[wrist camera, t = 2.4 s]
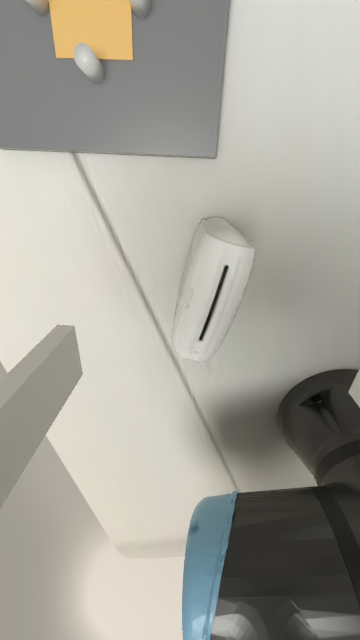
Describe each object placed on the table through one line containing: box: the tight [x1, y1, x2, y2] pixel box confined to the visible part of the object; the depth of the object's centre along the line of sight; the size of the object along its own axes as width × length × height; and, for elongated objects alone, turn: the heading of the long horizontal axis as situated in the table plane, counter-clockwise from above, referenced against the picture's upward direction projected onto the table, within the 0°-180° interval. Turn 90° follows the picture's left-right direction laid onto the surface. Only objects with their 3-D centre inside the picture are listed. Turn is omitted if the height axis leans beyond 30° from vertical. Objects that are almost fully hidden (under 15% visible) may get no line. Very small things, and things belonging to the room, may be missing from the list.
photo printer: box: [172, 217, 255, 362], centre depth 22 cm, size 10×4×12 cm, turn 165°
